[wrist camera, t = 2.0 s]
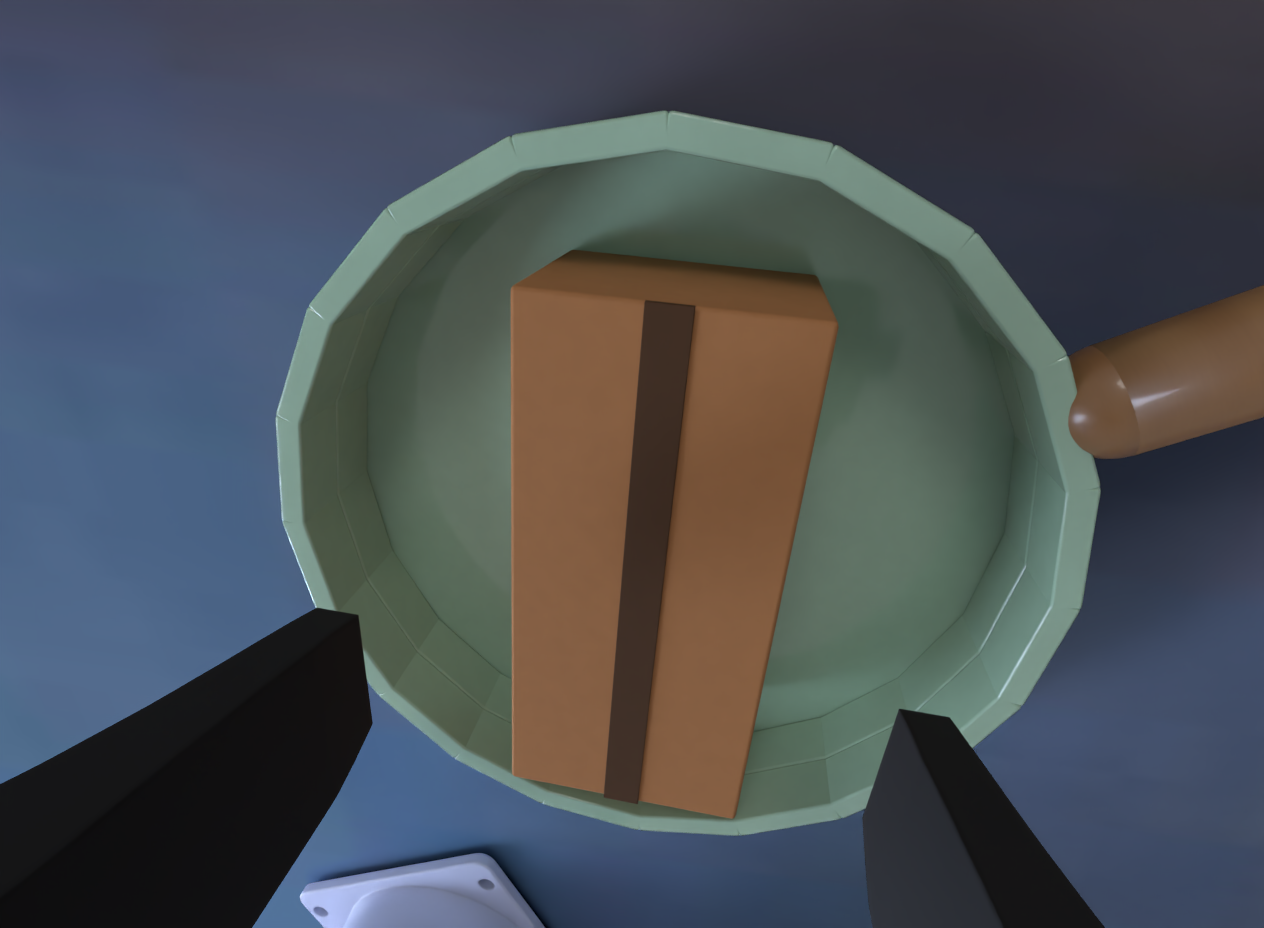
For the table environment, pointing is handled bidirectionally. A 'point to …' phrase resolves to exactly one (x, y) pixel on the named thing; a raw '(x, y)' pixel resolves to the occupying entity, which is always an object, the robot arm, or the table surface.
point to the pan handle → (1171, 379)
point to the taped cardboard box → (654, 514)
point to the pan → (836, 482)
